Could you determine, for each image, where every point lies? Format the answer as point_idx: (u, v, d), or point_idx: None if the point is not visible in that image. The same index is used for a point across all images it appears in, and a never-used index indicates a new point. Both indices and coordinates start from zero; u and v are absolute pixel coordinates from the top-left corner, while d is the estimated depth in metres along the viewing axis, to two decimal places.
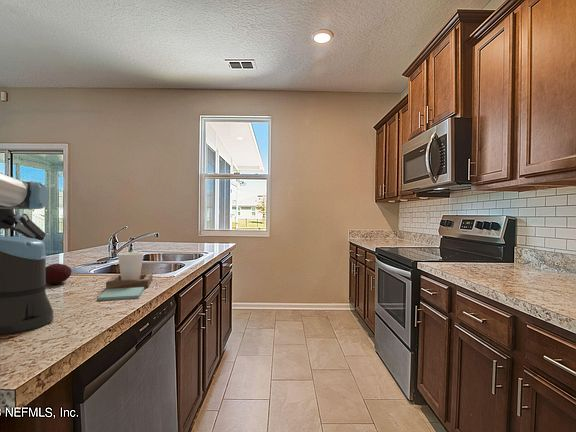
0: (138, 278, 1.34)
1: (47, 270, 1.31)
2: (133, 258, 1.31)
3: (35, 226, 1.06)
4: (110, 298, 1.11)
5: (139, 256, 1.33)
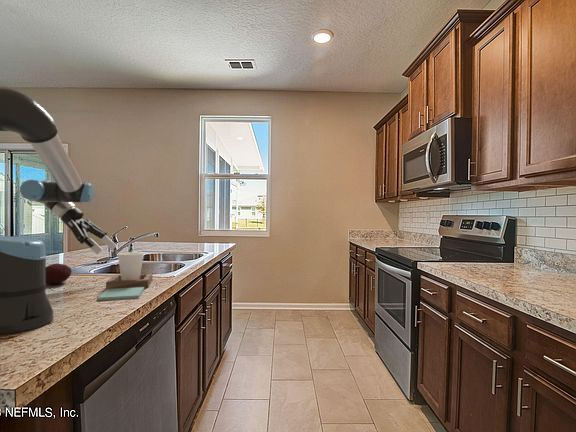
0: (138, 278, 1.34)
1: (47, 270, 1.31)
2: (133, 258, 1.31)
3: None
4: (110, 298, 1.11)
5: (139, 256, 1.33)
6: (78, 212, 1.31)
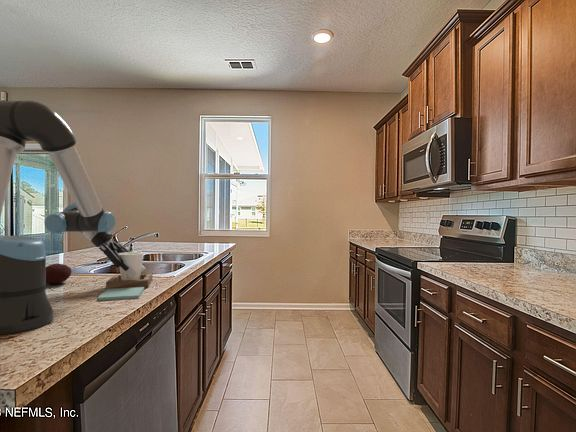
0: (138, 278, 1.34)
1: (47, 270, 1.31)
2: (133, 258, 1.31)
3: None
4: (110, 298, 1.11)
5: (139, 256, 1.33)
6: (108, 234, 1.32)
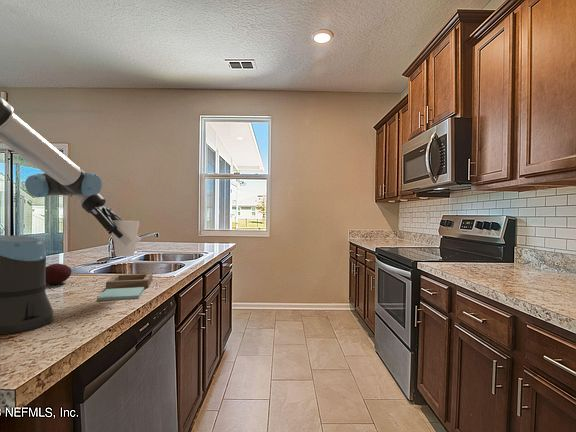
0: (133, 248, 1.21)
1: (47, 270, 1.31)
2: (128, 225, 1.18)
3: None
4: (110, 298, 1.11)
5: (135, 223, 1.20)
6: (100, 198, 1.20)
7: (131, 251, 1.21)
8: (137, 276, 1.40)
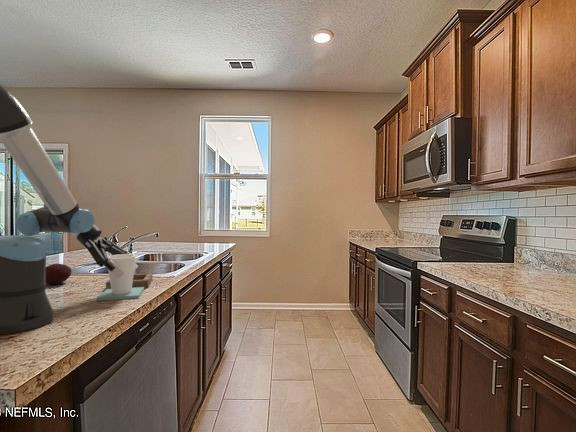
0: (130, 284, 1.17)
1: (47, 270, 1.31)
2: (123, 262, 1.14)
3: None
4: (110, 298, 1.11)
5: (130, 260, 1.16)
6: (96, 230, 1.15)
7: (128, 288, 1.17)
8: (137, 276, 1.40)
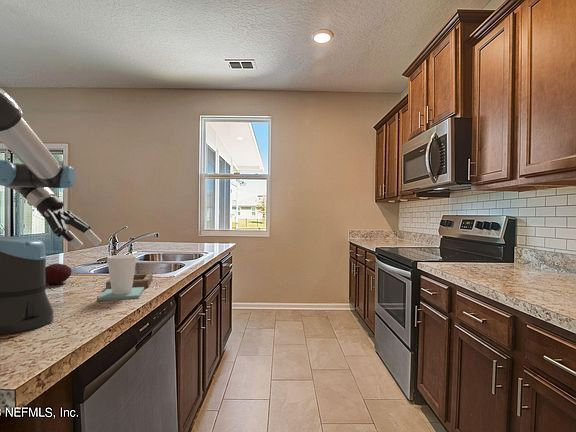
0: (130, 285, 1.17)
1: (47, 270, 1.31)
2: (124, 262, 1.14)
3: None
4: (110, 298, 1.11)
5: (131, 260, 1.16)
6: (57, 201, 1.14)
7: (128, 288, 1.17)
8: (137, 276, 1.40)
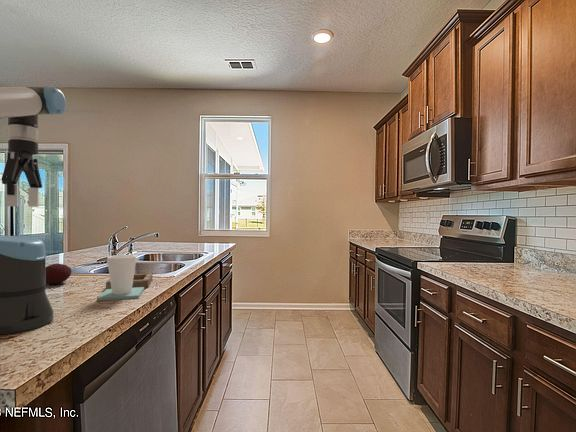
0: (130, 285, 1.17)
1: (47, 270, 1.31)
2: (124, 262, 1.14)
3: None
4: (110, 298, 1.11)
5: (131, 259, 1.16)
6: (33, 149, 1.04)
7: (128, 288, 1.17)
8: (137, 276, 1.40)
